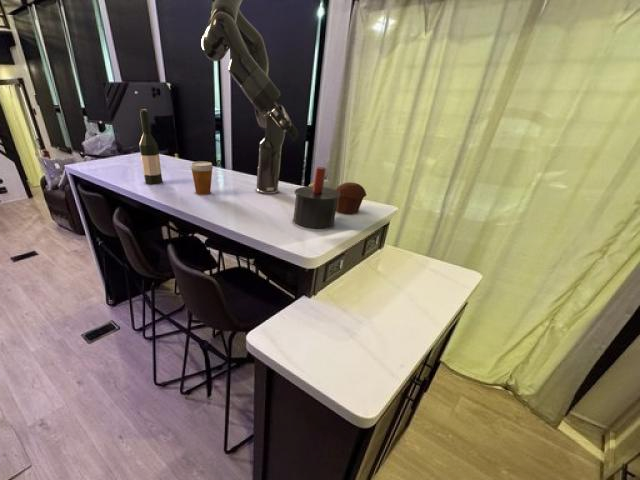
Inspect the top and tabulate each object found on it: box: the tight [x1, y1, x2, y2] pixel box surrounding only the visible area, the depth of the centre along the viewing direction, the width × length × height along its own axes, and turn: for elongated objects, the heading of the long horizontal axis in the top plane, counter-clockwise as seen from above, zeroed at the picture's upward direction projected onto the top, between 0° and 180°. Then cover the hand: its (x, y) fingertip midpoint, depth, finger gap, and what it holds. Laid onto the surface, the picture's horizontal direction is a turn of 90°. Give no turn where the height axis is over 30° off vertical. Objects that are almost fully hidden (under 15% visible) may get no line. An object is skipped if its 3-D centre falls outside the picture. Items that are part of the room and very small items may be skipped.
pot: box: [292, 194, 338, 230], centre depth 105 cm, size 14×14×10 cm
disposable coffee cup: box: [189, 161, 214, 196], centre depth 132 cm, size 10×10×12 cm
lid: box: [294, 166, 340, 201], centre depth 100 cm, size 15×15×9 cm
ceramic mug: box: [308, 179, 334, 189], centre depth 126 cm, size 11×8×8 cm
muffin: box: [334, 181, 367, 215], centre depth 116 cm, size 12×11×10 cm
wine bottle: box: [139, 108, 164, 186], centre depth 140 cm, size 8×8×30 cm
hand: (296, 136), depth 94 cm, fingers open, 8 cm apart
